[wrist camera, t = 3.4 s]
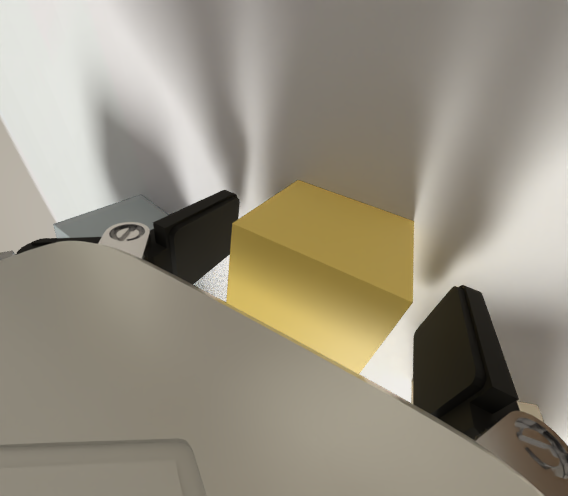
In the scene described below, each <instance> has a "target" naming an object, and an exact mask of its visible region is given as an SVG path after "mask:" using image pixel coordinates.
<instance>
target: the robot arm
mask: <svg viewBox="0 0 568 496" xmlns="http://www.w3.org/2000/svg"><path fill="white" fill-rule="evenodd" d="M238 213H239V199H238V198H237V195H236V194H234V193H231V192H229V191H226V190H223V191H220V192H218V193H216V194H214V195H212V196H210V197H207V198H205V199H203V200H201V201H199V202H196V203H194V204H192V205H190V206H188V207H185V208H183V209H181V210H179V211H177V212H175V213H172V214H170V215H168V216H166V217H164V218H161V219H159V220H157V221H155V222H153V227H154V229H152V230H150V229H149V228H148V226H146V225H144V224H142V223H138V222H124V223H118V224H116V225H113V226H111V227H109V228H108V229H107V230H106V231H105V232H104V234H103V236H102V237H78V238H51V239H49V238H45V239H39V240H36V241H34V242H32V243H29V244H27V245H26V246H24V247H22V248H21V249H20V250H19V251H18V252H17V254H14V252H13V251H7V252H1V253H0V496H568V446H567V445H566V443H565V442H564V441H563V440H562V439H561V438H560V437H559V436H558V435H557V434H556V433H555V432H554V431H553V430H552V429H551V428H550V427H548V426H547V425H546V424H545V423H544V422H542V421H541V420H539V419H538V418H536V417H534V416H533V415H530V414H528V413H526V412H523V411H520V409H519V406H518V403H517V400H518V396H517V393H516V390H515V387H514V384H513V382H512V379H511V376H510V373H509V370H508V367H507V364H506V361H505V359H504V356H503V353H502V350H501V347H500V344H499V341H498V338H497V336H496V333H495V330H494V327H493V324H492V321H491V318H490V315H489V312H488V310H487V307H486V304H485V301H484V298H483V295H482V293H481V292H479V291H476V290H474V289H471V288H469V287H466V286H464V285H462V286H460V287H456V286H455V287H453V288H452V289H451V290H450V291H449V292H448V293H447V294H446V296H445V297H444V298H443V299H442V300H441V301H440V303H439V304H438V305H437V306H436V307H435V309H434V310H433V311H432V312H431V313H430V314H429V316H428V317H427V318H426V319H425V320H424V321H423V323H422V324H421V325H420V326H419V327H418V329H417V330H416V332H415V334H414V351H413V404H412V403H410V402H408V401H406V400H405V399H403V398H401V397H399V396H397V395H396V394H394V393H392V392H390V391H389V390H387V389H385V388H383V387H381V386H380V385H378V384H376V383H374V382H372V381H370V380H369V379H367V378H365V377H363V376H361V375H359V374H358V373H356V372H354V371H352V370H350V369H348V368H347V367H345V366H343V365H341V364H339V363H337V362H335V361H334V360H332V359H330V358H328V357H326V356H324V355H323V354H321V353H319V352H317V351H315V350H313V349H312V348H310V347H308V346H306V345H304V344H302V343H301V342H299V341H297V340H295V339H293V338H291V337H289V336H288V335H286V334H284V333H282V332H280V331H278V330H276V329H275V328H273V327H271V326H269V325H267V324H265V323H263V322H262V321H260V320H258V319H256V318H254V317H252V316H250V315H249V314H247V313H245V312H243V311H241V310H239V309H237V308H236V307H234V306H232V305H230V304H228V303H226V302H224V301H222V300H221V299H219V298H217V297H215V296H213V295H211V294H209V293H207V292H205V291H204V290H202V289H200V288H198V287H196V286H194V285H193V284H194V283H195V282H196V281H198V280H199V279H200V278H201V277H203V276H204V275H205V274H206V273H207V272H209V271H210V270H211V269H212V268H213V267H215V266H216V265H217V264H218V263H220V262H221V261H222V260H223V259H224V258H226V257H227V256H228V255H229V254H230V248H231V234H232V223H234V222H235V221H237V220H238Z"/></svg>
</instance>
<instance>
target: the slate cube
mask: <svg viewBox="0 0 568 496" xmlns="http://www.w3.org/2000/svg"><path fill="white" fill-rule="evenodd" d="M166 216H168V214H167V213H165V212H164V211H163V210H161V209H160V208H159V207H157V206H156V205H154V204H153V203H152V202H150V201H149V200H148V199H146V198H145V197H144V196H142V195H138V196H135V197H132V198H129V199H126V200H123V201H121V202H118V203H115V204H112V205H109V206H106V207H103V208H100V209H97V210H94V211H91V212H88V213H85V214H82V215H79V216H76V217H73V218H70V219H67V220H64V221H61V222H58V223H55V224H53V225H54V229H55V233H56V237H57V238H78V237H102V236H103V234H104V232H105V231H106V230H107V229H108V228H109V227H111V226H113V225H116V224H118V223H124V222H138V223H142V224H144V225H146V226H148V228H149V229H150V230H152V229H154V227H153V222H155V221H157V220H159V219H161V218H164V217H166Z"/></svg>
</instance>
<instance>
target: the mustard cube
mask: <svg viewBox="0 0 568 496" xmlns="http://www.w3.org/2000/svg"><path fill="white" fill-rule="evenodd" d="M413 248H414V221H412V220H409V219H406V218H404V217H401V216H398V215H395V214H392V213H390V212H387V211H384V210H381V209H378V208H376V207H373V206H370V205H367V204H364V203H362V202H359V201H356V200H353V199H350V198H347V197H345V196H342V195H339V194H336V193H333V192H331V191H328V190H325V189H322V188H319V187H317V186H314V185H311V184H308V183H305V182H303V181H300V180H297V181H296V182H294V183H293V184H291V185H290V186H288V187H287V188H285V189H284V190H282V191H281V192H279V193H278V194H276V195H274V196H273V197H271V198H270V199H268V200H267V201H265V202H264V203H262V204H261V205H259V206H258V207H256V208H255V209H253V210H252V211H250V212H249V213H247V214H246V215H244V216H243V217H241V218H240V219H238V220H237V221H235V222H234V223H232V234H231V248H230V261H229V275H228V288H227V301H226V303H228V304H230V305H232V306H234V307H236V308H237V309H239V310H241V311H243V312H245V313H247V314H249V315H250V316H252V317H254V318H256V319H258V320H260V321H262V322H263V323H265V324H267V325H269V326H271V327H273V328H275V329H276V330H278V331H280V332H282V333H284V334H286V335H288V336H289V337H291V338H293V339H295V340H297V341H299V342H301V343H302V344H304V345H306V346H308V347H310V348H312V349H313V350H315V351H317V352H319V353H321V354H323V355H324V356H326V357H328V358H330V359H332V360H334V361H335V362H337V363H339V364H341V365H343V366H345V367H347V368H348V369H350V370H352V371H354V372H356V373H358V374H359V373H360V372H361V371H362V369H363V368H364V367H365V365H366V364H367V363H368V361H369V360H370V359H371V357H372V356H373V355H374V353H375V352H376V351H377V349H378V348H379V347H380V345H381V344H382V343H383V341H384V340H385V339H386V337H387V336H388V335H389V333H390V332H391V331H392V329H393V328H394V327H395V325H396V324H397V323H398V321H399V320H400V319H401V317H402V316H403V315H404V313H405V312H406V311H407V309H408V308H409V307H410V305H411V304H412V303H413Z"/></svg>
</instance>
